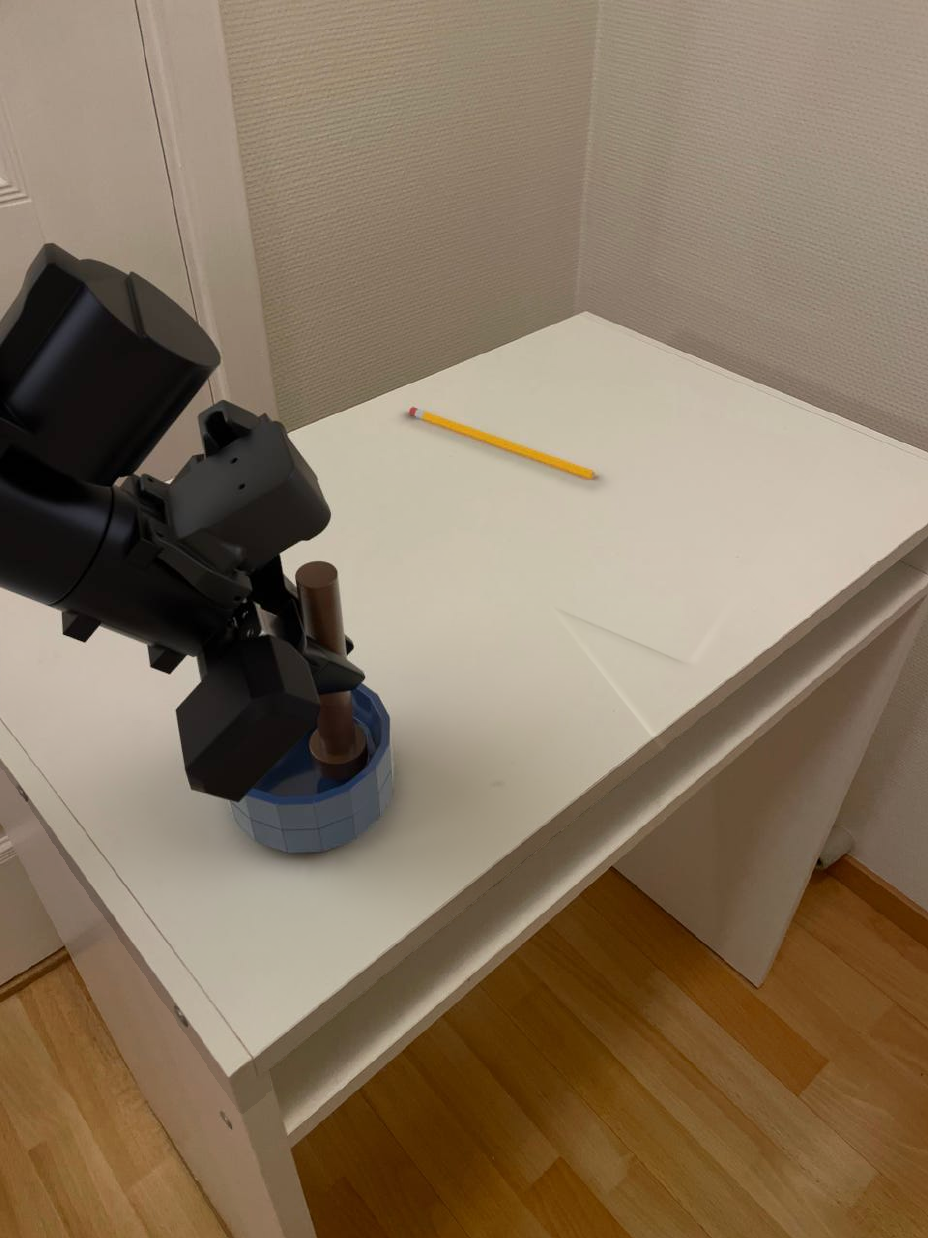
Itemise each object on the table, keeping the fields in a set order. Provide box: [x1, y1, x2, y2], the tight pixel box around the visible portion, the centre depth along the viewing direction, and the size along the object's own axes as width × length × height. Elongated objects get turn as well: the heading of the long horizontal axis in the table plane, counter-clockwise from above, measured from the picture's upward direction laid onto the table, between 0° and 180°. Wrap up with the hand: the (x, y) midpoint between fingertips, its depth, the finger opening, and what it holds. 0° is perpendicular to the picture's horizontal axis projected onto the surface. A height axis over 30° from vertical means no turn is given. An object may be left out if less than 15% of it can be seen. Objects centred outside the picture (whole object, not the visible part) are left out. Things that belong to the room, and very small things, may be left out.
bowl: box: [226, 682, 395, 854], centre depth 53 cm, size 9×9×5 cm
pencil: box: [408, 406, 595, 480], centre depth 81 cm, size 1×18×1 cm, turn 57°
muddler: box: [294, 560, 368, 780], centre depth 49 cm, size 3×3×14 cm
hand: (354, 666), depth 49 cm, fingers closed on muddler, 2 cm apart
